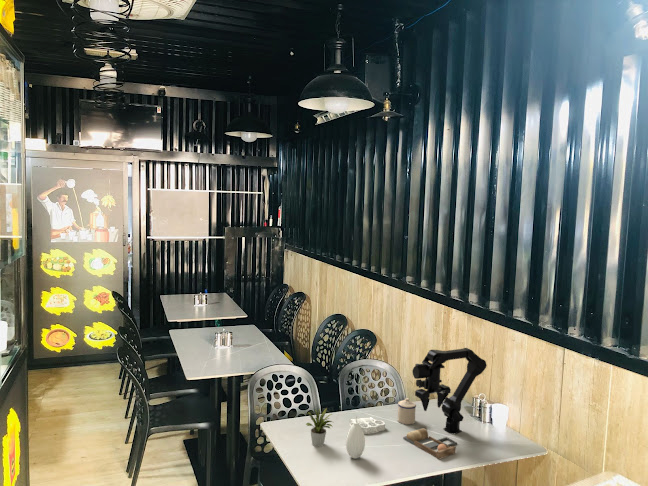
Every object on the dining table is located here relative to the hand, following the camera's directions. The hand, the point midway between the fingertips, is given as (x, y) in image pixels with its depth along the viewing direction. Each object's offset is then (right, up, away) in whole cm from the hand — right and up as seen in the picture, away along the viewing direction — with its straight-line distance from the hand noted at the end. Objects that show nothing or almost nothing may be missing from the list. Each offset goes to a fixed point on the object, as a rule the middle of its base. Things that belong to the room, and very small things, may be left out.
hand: (432, 409), depth 245 cm
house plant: (-55, -11, -17) cm, 59 cm away
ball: (-1, -12, -18) cm, 21 cm away
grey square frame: (+5, -13, -9) cm, 16 cm away
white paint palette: (-31, -11, +4) cm, 34 cm away
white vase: (-39, -12, -27) cm, 49 cm away
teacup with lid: (-11, -11, +15) cm, 22 cm away
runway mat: (-7, -12, -10) cm, 17 cm away
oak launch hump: (-8, -12, -7) cm, 16 cm away
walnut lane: (-2, -13, -16) cm, 20 cm away
